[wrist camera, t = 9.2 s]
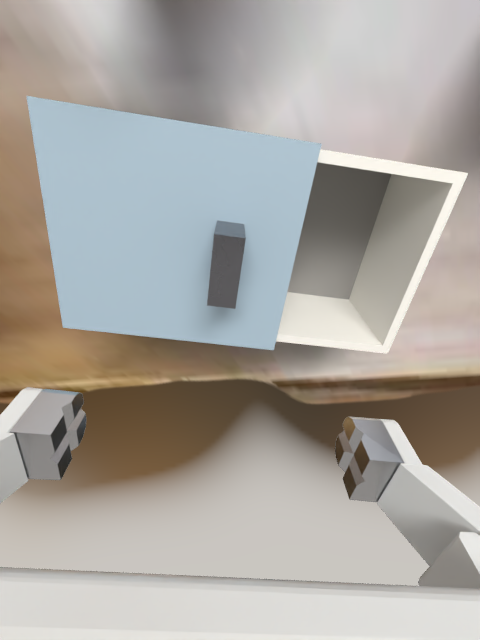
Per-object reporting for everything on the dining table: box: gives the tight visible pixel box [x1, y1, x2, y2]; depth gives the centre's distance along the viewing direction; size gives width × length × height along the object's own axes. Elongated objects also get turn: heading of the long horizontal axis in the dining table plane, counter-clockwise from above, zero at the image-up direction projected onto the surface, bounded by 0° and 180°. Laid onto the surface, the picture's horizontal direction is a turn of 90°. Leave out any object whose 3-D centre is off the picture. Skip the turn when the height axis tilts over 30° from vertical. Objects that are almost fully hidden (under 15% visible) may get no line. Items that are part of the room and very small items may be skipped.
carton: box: [276, 149, 468, 354], centre depth 31 cm, size 18×16×11 cm
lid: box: [27, 96, 321, 350], centre depth 23 cm, size 19×17×5 cm
